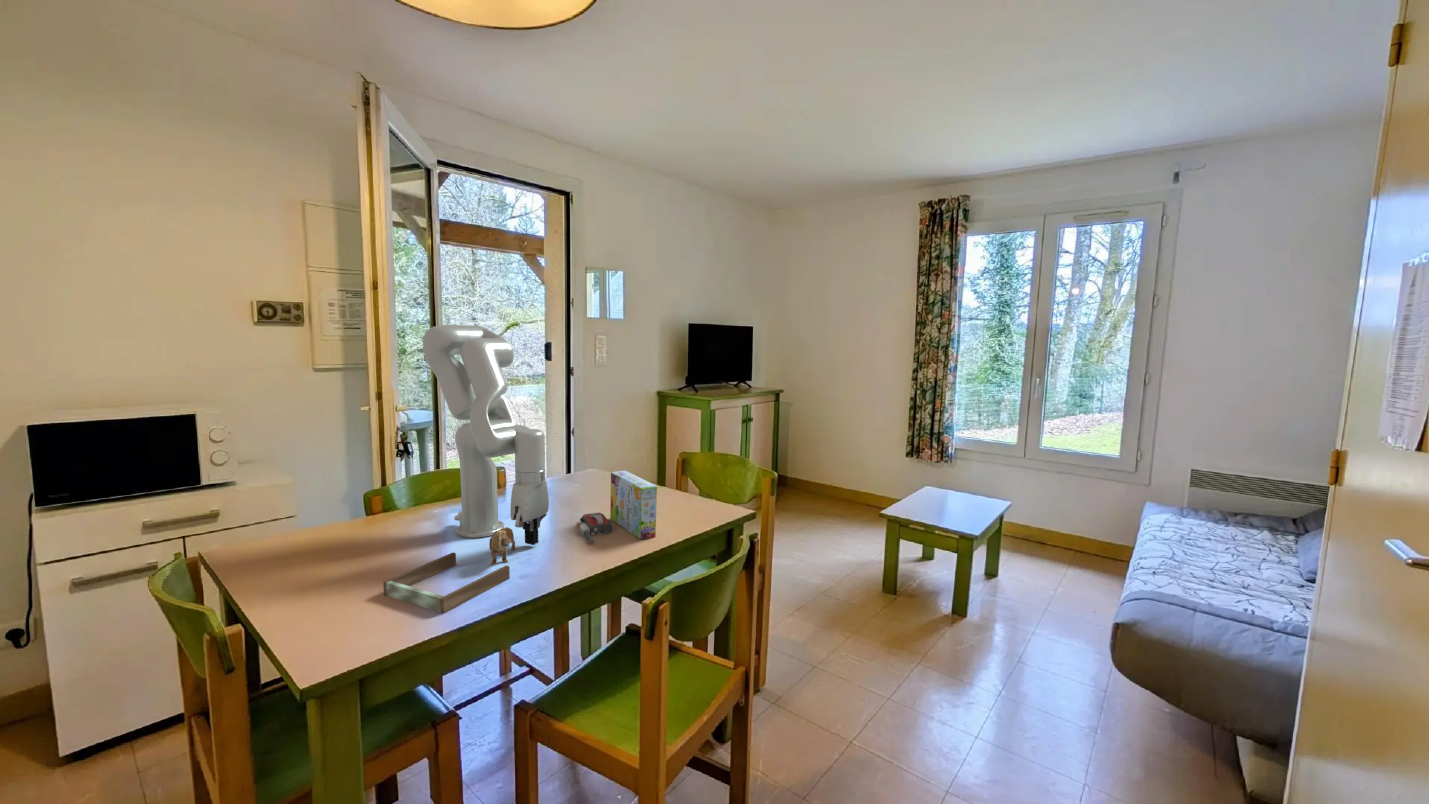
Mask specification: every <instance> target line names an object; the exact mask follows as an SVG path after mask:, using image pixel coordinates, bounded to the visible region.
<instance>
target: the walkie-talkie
mask: <svg viewBox="0 0 1429 804" xmlns="http://www.w3.org/2000/svg"><path fill="white" fill-rule="evenodd" d="M579 521H580V523H581V524H579V533H580V534H581V536H582V537H586V539H587V540H588V541H589V542H590V543H591V544H594V543H595V540H594V539H593V538H592V537H594V536H596V535H607V534H611V533H612V531H613V524H612V523H611V521H610V520H609V519H608V518H607V517H606V515H604V513H601V512H591V513H585V514H582V516H581V517H580V518H579Z"/></svg>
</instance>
